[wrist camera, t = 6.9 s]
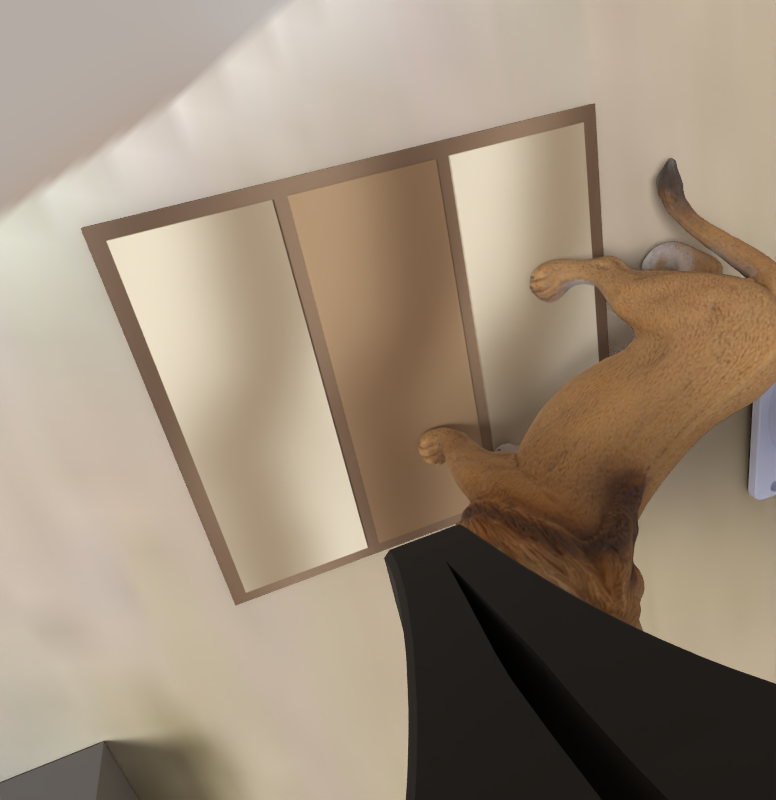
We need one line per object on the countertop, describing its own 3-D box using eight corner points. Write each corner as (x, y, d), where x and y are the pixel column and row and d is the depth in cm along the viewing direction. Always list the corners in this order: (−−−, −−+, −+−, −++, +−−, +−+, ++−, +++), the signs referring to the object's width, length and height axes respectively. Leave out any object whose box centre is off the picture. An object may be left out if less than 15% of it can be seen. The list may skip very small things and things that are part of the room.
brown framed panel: (590, 104, 17) (597, 103, 17) (611, 461, 22) (616, 465, 22) (81, 227, 15) (80, 229, 14) (235, 601, 20) (235, 607, 20)
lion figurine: (482, 578, 22) (649, 816, 14) (355, 540, 20) (469, 798, 12) (710, 199, 19) (1081, 231, 11) (592, 107, 17) (948, 64, 9)
